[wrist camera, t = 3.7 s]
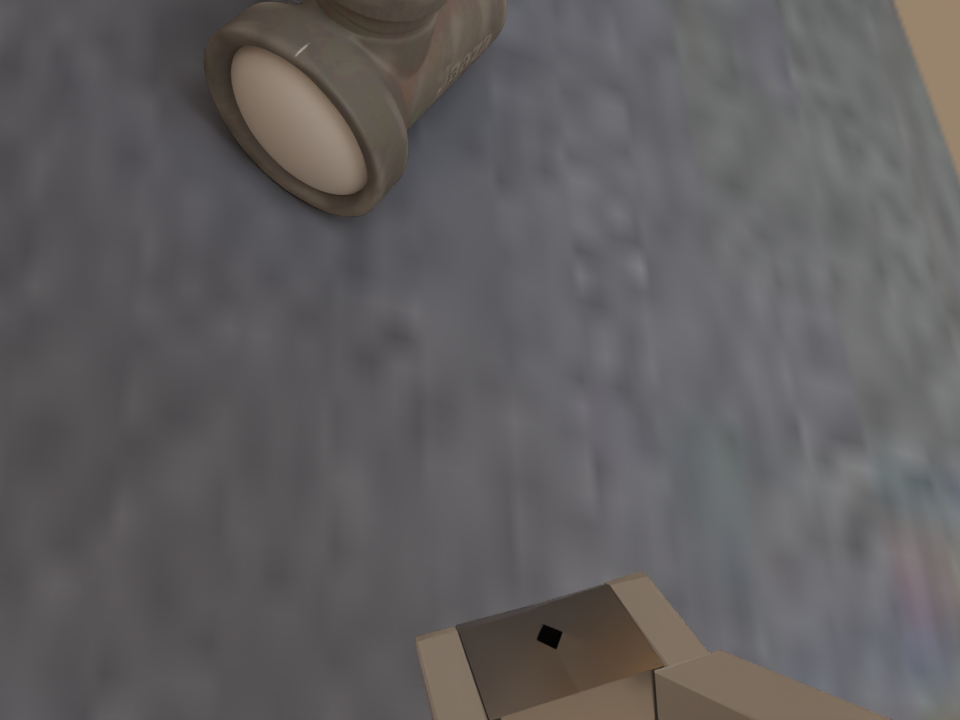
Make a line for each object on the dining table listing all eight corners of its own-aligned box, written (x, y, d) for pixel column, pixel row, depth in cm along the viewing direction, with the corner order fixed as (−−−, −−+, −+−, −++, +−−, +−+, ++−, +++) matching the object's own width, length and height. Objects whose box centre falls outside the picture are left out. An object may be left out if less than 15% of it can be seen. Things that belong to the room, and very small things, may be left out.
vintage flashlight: (353, 257, 31) (399, 102, 22) (199, 136, 31) (181, -73, 22) (507, 96, 36) (597, -86, 27) (377, -10, 36) (422, -229, 27)
